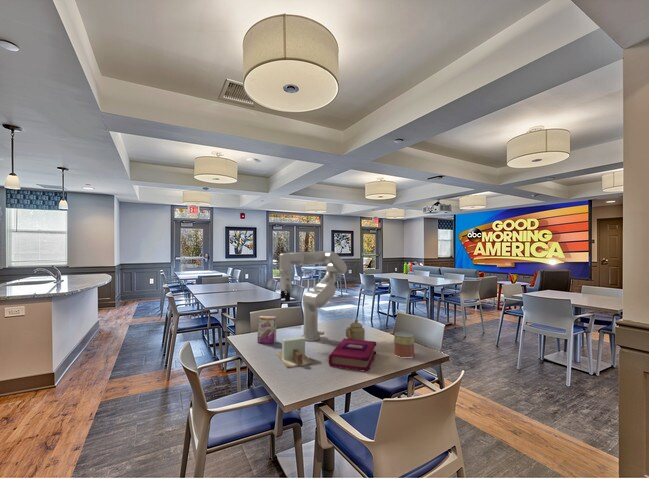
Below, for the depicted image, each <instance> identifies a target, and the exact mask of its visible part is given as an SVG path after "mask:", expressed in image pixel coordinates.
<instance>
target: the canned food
mask: <svg viewBox="0 0 649 479" xmlns="http://www.w3.org/2000/svg"><path fill="white" fill-rule="evenodd" d="M393 334H394V338H393V339H394V340H393V342H394V350H393V352H394V353H393V354H395V355H397V356H400V357H412V356H414V357H415V334H414V333H412V332H410V331H405V330H402V331H395V332H394V333H393ZM395 355H394V356H395ZM397 356H396V357H397ZM400 357H399V358H400Z"/></svg>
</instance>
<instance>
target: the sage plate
mask: <svg viewBox="0 0 649 479" xmlns="http://www.w3.org/2000/svg"><path fill="white" fill-rule="evenodd" d="M297 349H298V350H299V351H300V352H301V353H302V354H303V356H302V357H305V355H306V341H305V338H304V337H301V336H296V337H288V338H281V351H282V358H283V359H284V360H286V359H293V350H297Z"/></svg>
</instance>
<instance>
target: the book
mask: <svg viewBox="0 0 649 479" xmlns="http://www.w3.org/2000/svg"><path fill="white" fill-rule="evenodd" d="M375 347H377V341H372V340H364V341H363V340H354V339H348V338H343V339H342V340H341V341H340V342H339V343H338V345H336V347H335V348H334V349H333V350H332V352H330V354H329V355H328V365H329V367H334V368H339V367H340V368H341V369H346V368H348V370H353V369H357V370H356V371H360V370H364V371H363V372H369V371H370V370H371V366H372V364H373V362H374V359H375V357H376V355H377V351H376V350H375ZM372 361H373V362H372ZM371 363H372V364H371ZM369 369H370V370H369ZM368 370H369V371H368Z"/></svg>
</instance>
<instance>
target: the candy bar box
mask: <svg viewBox="0 0 649 479" xmlns="http://www.w3.org/2000/svg"><path fill="white" fill-rule="evenodd" d="M259 343H260V344H276V343H277V316H270V315H268V316H267V315H260V316H258V317H257V344H259Z"/></svg>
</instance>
